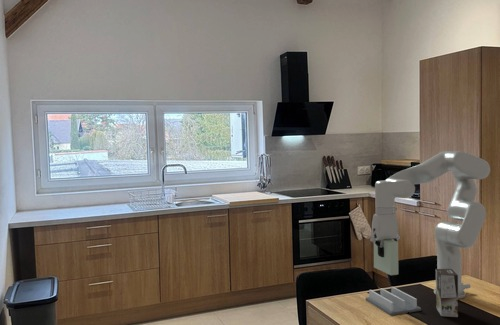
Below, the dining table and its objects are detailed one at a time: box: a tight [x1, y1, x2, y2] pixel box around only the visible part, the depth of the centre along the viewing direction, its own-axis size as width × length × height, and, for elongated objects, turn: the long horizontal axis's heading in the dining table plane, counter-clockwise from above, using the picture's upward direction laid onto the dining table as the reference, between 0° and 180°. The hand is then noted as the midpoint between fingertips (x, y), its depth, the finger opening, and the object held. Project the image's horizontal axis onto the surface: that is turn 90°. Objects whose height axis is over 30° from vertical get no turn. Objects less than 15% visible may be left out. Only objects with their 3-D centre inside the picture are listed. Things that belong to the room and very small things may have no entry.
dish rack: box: [365, 286, 422, 316], centre depth 182 cm, size 14×18×4 cm
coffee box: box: [435, 268, 459, 318], centre depth 172 cm, size 9×6×16 cm
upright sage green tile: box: [373, 238, 399, 276], centre depth 180 cm, size 4×12×13 cm, turn 17°
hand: (385, 255), depth 180 cm, fingers closed on upright sage green tile, 3 cm apart
